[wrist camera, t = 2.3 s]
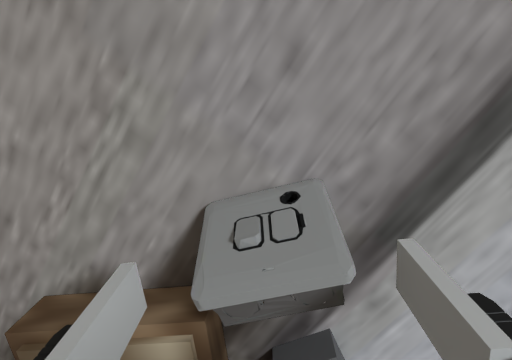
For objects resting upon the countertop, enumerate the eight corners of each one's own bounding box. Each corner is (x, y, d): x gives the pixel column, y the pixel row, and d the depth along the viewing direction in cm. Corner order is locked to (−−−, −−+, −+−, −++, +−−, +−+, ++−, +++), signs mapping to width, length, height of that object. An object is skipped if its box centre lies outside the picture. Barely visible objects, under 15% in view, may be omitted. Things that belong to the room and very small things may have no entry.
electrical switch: (321, 174, 22) (353, 242, 14) (332, 231, 23) (366, 319, 16) (206, 201, 23) (176, 278, 15) (224, 253, 24) (206, 347, 17)
